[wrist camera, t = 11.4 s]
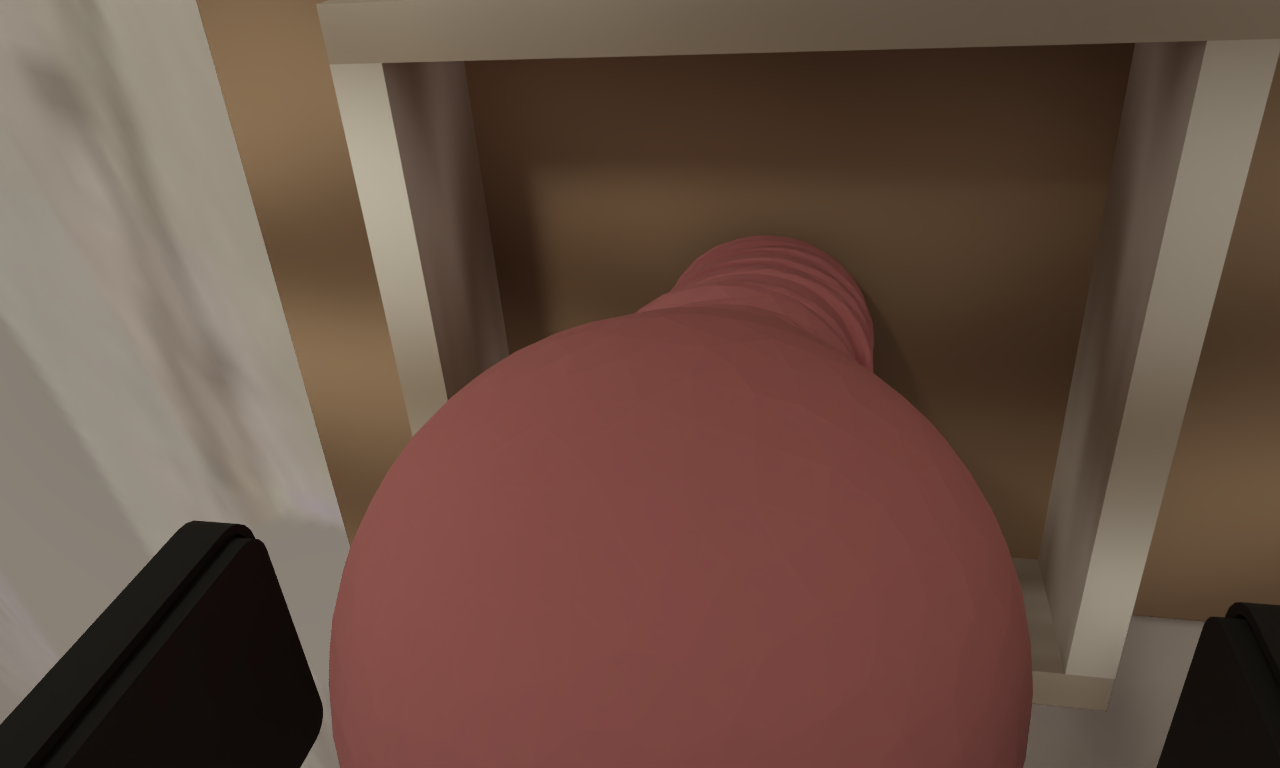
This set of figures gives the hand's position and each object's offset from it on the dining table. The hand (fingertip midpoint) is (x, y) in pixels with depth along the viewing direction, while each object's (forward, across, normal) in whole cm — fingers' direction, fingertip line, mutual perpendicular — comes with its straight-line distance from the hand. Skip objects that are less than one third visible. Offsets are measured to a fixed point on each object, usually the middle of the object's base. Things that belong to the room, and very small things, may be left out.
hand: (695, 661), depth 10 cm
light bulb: (+9, 0, 0) cm, 9 cm away
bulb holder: (+10, 0, +1) cm, 10 cm away
